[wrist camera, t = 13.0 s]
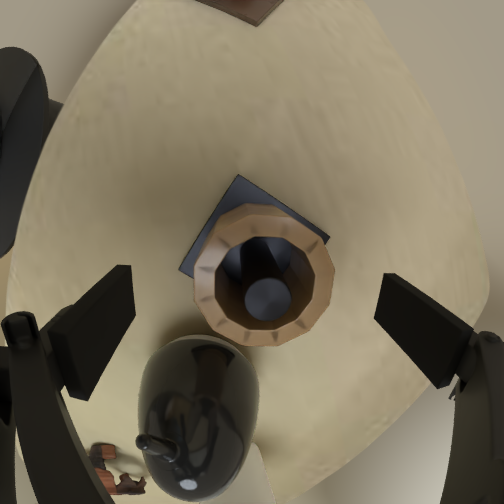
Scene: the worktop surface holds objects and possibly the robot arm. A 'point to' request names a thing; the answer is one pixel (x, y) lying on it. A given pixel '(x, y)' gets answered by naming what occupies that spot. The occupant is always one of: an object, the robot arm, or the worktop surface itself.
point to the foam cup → (248, 483)
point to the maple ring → (296, 275)
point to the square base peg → (254, 255)
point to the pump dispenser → (197, 416)
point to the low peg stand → (245, 8)
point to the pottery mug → (106, 477)
